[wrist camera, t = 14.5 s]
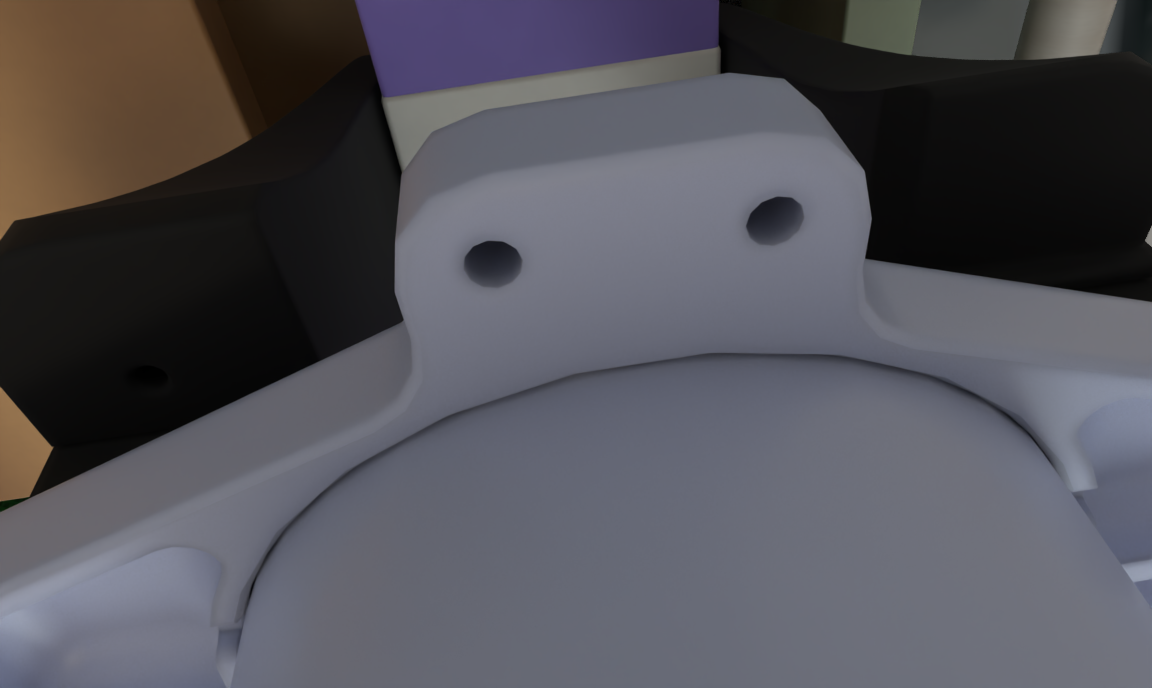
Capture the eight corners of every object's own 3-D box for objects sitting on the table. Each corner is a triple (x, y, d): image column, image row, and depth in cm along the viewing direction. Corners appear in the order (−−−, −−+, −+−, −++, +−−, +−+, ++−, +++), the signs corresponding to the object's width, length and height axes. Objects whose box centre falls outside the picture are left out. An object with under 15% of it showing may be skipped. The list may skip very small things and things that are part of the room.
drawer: (1111, -496, 13) (1437, -552, 9) (957, 142, 21) (1087, 280, 17) (-66, -325, 13) (-330, -296, 9) (224, 254, 21) (163, 423, 16)
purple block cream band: (656, -254, 11) (727, -208, 8) (671, 230, 16) (716, 360, 13) (346, -209, 11) (308, -145, 8) (464, 262, 16) (466, 398, 13)
